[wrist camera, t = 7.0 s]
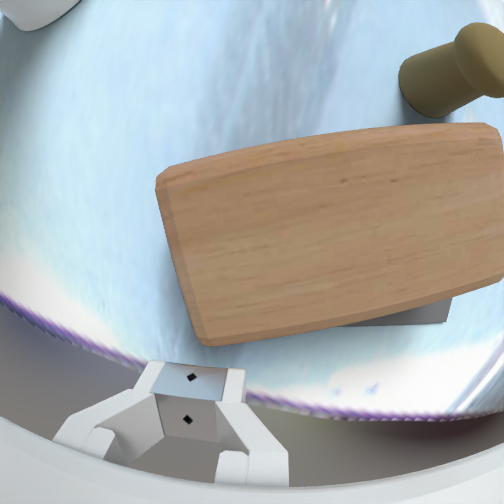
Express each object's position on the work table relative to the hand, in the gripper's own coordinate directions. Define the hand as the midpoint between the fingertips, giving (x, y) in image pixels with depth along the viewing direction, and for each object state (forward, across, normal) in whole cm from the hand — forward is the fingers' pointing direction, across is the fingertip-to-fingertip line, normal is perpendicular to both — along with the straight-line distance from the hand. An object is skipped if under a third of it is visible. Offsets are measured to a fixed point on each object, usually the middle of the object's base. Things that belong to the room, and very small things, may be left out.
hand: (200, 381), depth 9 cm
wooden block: (+11, +3, -1) cm, 12 cm away
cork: (+17, -16, -15) cm, 28 cm away
